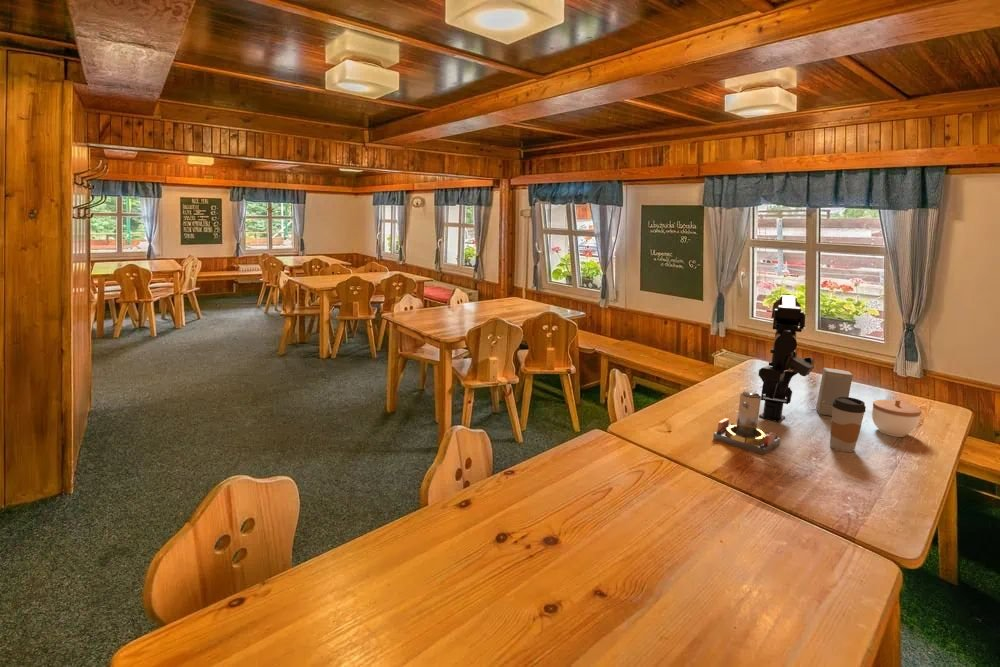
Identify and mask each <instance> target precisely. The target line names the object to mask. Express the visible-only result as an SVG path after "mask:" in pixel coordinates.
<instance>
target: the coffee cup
mask: <svg viewBox="0 0 1000 667" xmlns="http://www.w3.org/2000/svg"><path fill="white" fill-rule="evenodd" d="M832 406H833V412H832V416H831V421H830V424H831V425H830V430H829V431H830V436H829V437H830V438H829V439H830V440H829V445H830V447H831V448H832V449H833V448H834V450H835V449H836V451H838V450H839V451H838V452H842V451H843V452H844V453H852V452H854V450H856V446H857V442H858V439H859V434H860V432H861V429H862V423H863V419H864V416H865V412H866V410H867V408H866V405H865V402H864V401H863V400H861V399H858V398H854V397H836V398H835V400H834V401H833V405H832Z"/></svg>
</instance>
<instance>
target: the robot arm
mask: <svg viewBox="0 0 1000 667" xmlns="http://www.w3.org/2000/svg"><path fill="white" fill-rule="evenodd" d="M797 300H798V297H797V296H795V295H788V294H787V295H785V294H782V295H780V296H779V299H778V300H776V301H775V302H773V303H772V311H771V319H773V321H772V330H775V331H774V339H773V346H772V347H773V348H771V349H770V351H769V352H770V354H771V361H769V362H768V365H766V366H764V367H761V368H760V369H758V375H757V376H758V377H759V379H761V381H762V387H761V395H760V396H761V401H764V405H763V412H762V413H759V416H758V418H759V417H760V418H761V419H762V418H763V419H766V420H769V421H773V422H777V423H778V422H780V421H782V420H783V419H786V416H785V415H782V414H783V408H784V404H786V405H788V404H790V403H791V400H792V396H793V390H792V389H791V386H789V385H790V383H791V380H792V379H793V377H794V376H796V375H797V374H799V375H800V376H801V377H806V376H809V375H810V374H811V371H812V370H814V368H815V364H814V359H813V358H812V357H810V356H808V357H805V358H803V357H799V356H798V352H797V346H798V341H797V334H798V333H802V330H804V329H805V322H806V320H805V319H806V315H805V312H804V311H803V310H802V308H801V307H802V306H801V304H800V303H799V302H798V301H797Z"/></svg>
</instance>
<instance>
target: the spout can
mask: <svg viewBox="0 0 1000 667" xmlns="http://www.w3.org/2000/svg"><path fill="white" fill-rule="evenodd" d="M761 401H762V400H761V395H760V394H759V393H757V392H754V391H747V390H745V391H743V392H742V393H740V394H739V403H738V411H737V419H736V425H737V426H736V434H737V435H740V436H744V437H755V438H756V431H757V429H758V421H759V415H760V408H761Z"/></svg>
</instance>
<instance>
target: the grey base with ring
mask: <svg viewBox="0 0 1000 667" xmlns="http://www.w3.org/2000/svg"><path fill="white" fill-rule="evenodd" d="M729 422H730V418H728V417H727V418H723V419H722V420H719V421H718V423H717V424H718V425H717V431H715V432H713V437H712V439H713V440H715V441H718V442H721V441H722V443H724V444H727V445H731V446H733V445H734V447H736V446H737V447H736V448H740V449H742V448H743V450H746V451H748V452H752V453H755V454H758V455H761V456H764V455H766V454H767V453H769V452H770V451H771V449H772V450H773V449H775V448H776V447H777V446H779V445H780V440H781V438H780V437H779V436H776V432H775V431H770V432H767V431H762V430H761V429H759V428H757V431H756V438H755V437H744V436H740V435H737V434H736V426H737V424H736V423H730V424H729ZM774 447H775V448H774ZM768 451H769V452H768Z"/></svg>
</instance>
